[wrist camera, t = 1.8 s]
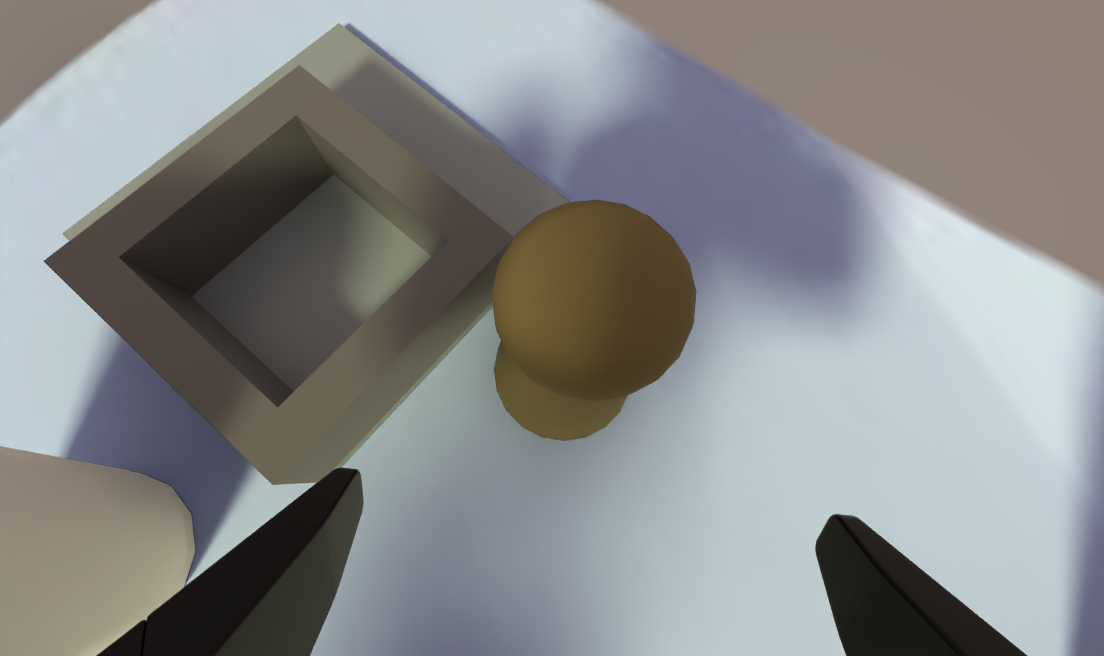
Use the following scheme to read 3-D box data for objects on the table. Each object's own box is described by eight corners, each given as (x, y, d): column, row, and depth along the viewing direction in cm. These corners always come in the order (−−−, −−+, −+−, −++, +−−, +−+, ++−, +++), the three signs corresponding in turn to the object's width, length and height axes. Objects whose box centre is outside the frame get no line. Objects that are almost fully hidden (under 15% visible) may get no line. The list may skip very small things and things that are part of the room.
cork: (548, 280, 23) (572, 116, 12) (657, 356, 22) (780, 252, 12) (465, 384, 21) (411, 298, 11) (580, 470, 21) (641, 468, 10)
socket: (327, 481, 20) (272, 484, 15) (73, 240, 22) (-38, 181, 18) (577, 215, 24) (591, 157, 19) (343, 33, 26) (307, -57, 22)
